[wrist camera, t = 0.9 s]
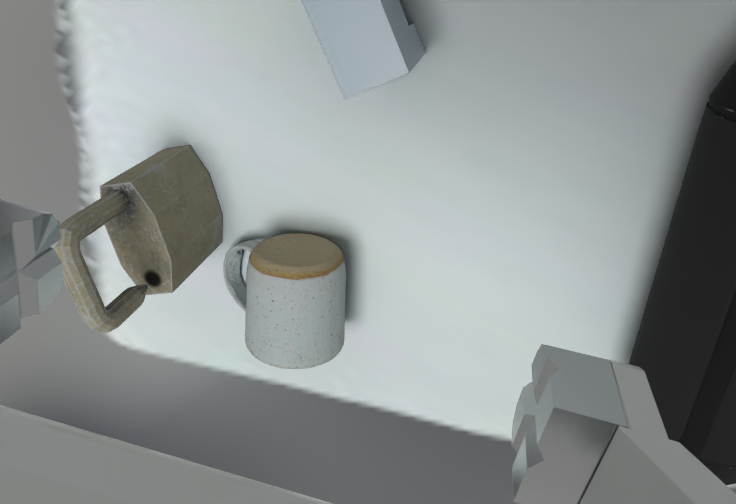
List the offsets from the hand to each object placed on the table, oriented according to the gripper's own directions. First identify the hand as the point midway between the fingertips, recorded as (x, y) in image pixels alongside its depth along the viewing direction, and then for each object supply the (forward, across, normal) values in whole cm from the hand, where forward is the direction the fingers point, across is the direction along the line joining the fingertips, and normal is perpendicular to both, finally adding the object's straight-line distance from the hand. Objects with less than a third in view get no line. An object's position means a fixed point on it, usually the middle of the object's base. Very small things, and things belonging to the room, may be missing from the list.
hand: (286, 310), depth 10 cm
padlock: (+34, +17, +15) cm, 41 cm away
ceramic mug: (+34, +8, +20) cm, 40 cm away
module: (+33, +5, -1) cm, 34 cm away
